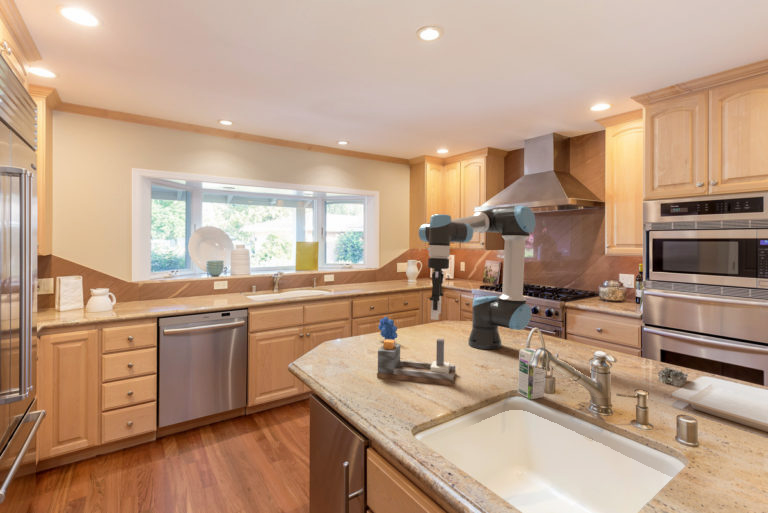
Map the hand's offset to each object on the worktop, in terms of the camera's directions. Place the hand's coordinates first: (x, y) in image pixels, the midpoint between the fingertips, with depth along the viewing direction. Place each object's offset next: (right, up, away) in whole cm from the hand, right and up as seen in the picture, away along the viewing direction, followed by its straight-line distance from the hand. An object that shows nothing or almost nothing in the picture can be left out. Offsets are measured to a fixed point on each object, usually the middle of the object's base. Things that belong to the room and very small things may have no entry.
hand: (435, 316), depth 136 cm
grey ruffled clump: (+84, -23, -2) cm, 87 cm away
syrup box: (+28, -23, -15) cm, 40 cm away
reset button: (-17, -13, +5) cm, 22 cm away
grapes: (-18, -20, +47) cm, 54 cm away
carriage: (+1, -20, 0) cm, 20 cm away
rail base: (-7, -22, +2) cm, 23 cm away
